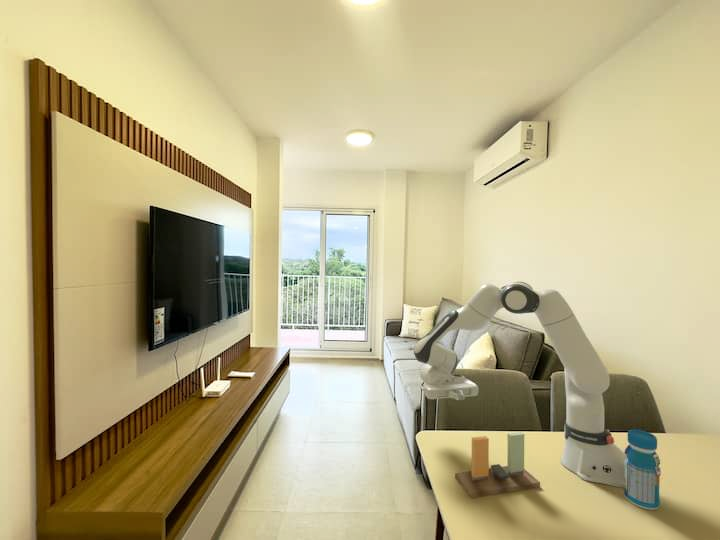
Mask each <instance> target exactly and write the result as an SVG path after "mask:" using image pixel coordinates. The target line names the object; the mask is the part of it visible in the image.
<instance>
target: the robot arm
mask: <svg viewBox="0 0 720 540" xmlns="http://www.w3.org/2000/svg"><path fill="white" fill-rule="evenodd" d="M501 309H505V310H506V311H508V313H509V312H510V313H512V314H520V315H521V314H522V315H523V314H530V313H534V314H535V316H536V317H537V319H538V320H539V322H540V324H541V326H542V328H543V329H544V332H545V333H546V336H547V338H548V339H549V342H550V343H551V345H552V347H553V349H554V350H555V353H556V355H557V356H558V358H559V360H560V362H561V364H562V365H563V366H562V367H564V368H563V369H564V371H563V372H564V386H565V399H566V400H565V401H566V404H565V405H566V406H565V407H566V408H565V409H566V415H565V417H566V420H565V422H564V430H563V431H564V433H563V434H564V439H565V440H564V446H563V452H562V453H561V458H560V463H561V464H562V465H563V466H564V467H565V468H566V469H568V470H569V471H571V472H573V473H574V474H575V475H577V476H578V477H579V478H580V479H582V480H584V481H587V482H594V483H597V484H603V485H608V486H614V487H617V488H623V489H625V465H624V458H625V457H626V456H625V453H624V452H625V450H623V449H621V448H620V447H618V446H617V444H615V439H614V437H613V436H612V433H611V432H610V429H606V428H605V404H604V399H603V393H604V392H605V391H607V390H608V388H609V386H610V384H611V381H610V379H611V378H610V374H609V371H608V370H607V368H606V366H605V364H604V362H603V361H602V359H601V358H600V356H599V354H598V352H597V351H596V350H595V348H594V346H593V344H592V342H590V340H589V338H588V336H587V334H586V332H585V331H584V329H583V327H582V326H581V324H580V322H579V320H578V318H577V317H576V315H575V313H574V311H573V310H572V308H571V307H570V305H569V303H568V302H567V301H566V299H565V298H564V296H562V294H561V293H560V292H559V291H557V290H556V289H549V288H547V289H543V290H541V291H536V290H534V289H533V287H532V286H531V285H530V284H528V283H527V282H524V281H514V282H511V283H509V284H506V285H504V286H502V287H501V288H500V287H498V286H497V285H493V284H490V283H485V284H483V285H481V286H480V287H479V288H478V289H477V290H476V291H475V292H474V293H473V295H471V296H470V298H469V299H468V300H467V302H466V303H465V304H464V305H463V306H462V307H460V308H458V309H456V310H451V311H450V312H448V313H447V314H445V316H443V317H442V319H441V320H439V321H438V322H437V324H436V325H435V326H434V327H433V328H432V329H430V331H428V332H427V334H425V335H424V336H422V337H421V338H419V340H418V341H417V342H416V343H415V345H414V347H413V354H414V357H415V359H416V360H417V362H419V363H423V365H422V366H421V367H420V370H419V375H420V378H421V381H422V382H423V383H424V384H423V385H422V386H420V388H419V389H420V390H421V391H423V392H424V393H423V394H424V396H425V397H426V398H427V399H429V400H440V399H454V400H456V401H463V400H465V399H466V397H476V396H477V397H478V395H479V385H477V384H476V383H475V382H473V381H472V380H470V379H468V378H466V376H464V375H462V374H454V373H455V371H456V369H457V367H458V355H457V353H456V352H455V350H453V349H450V348H449V347H447V346H444V345H442V344H441V343H439V342H440V341H441V340H442V339H443V338H444V337H445V336H446V335H447V334H448V333H449V332H451V331H456V330H463V331H465V330H466V331H471V332H473V331H479V330H483V329H484V328H485V327H486V326H487V325H488V324H489V323H490V322H491V320H492V319H493V318H494V316H495V315H496V314H497V312H499V310H501Z"/></svg>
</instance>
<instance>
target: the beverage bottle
mask: <svg viewBox="0 0 720 540" xmlns="http://www.w3.org/2000/svg"><path fill="white" fill-rule="evenodd" d="M627 442H628V445H627V446H626V447H625V450H624V453H625V456H626V457H625V458H624V465H625V488H623V489H624V492H623V494H624V497H625V499H626V500H627V501H629V502H630V503H631V504H633V505H634V506H636V507H639V508H641V509H645V510H649V511H654V510H655V511H656V510H658V509H659V508H660V505H661V502H660V478H661V474H662V471H661V468H660V464H661V459H660V457H659V455H658V453H657V452H656V450H657V449H658V437H656V435H654V434H653V433H650V432H648V431H645V430H640V429H629V430H628V431H627Z"/></svg>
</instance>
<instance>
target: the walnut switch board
mask: <svg viewBox="0 0 720 540" xmlns="http://www.w3.org/2000/svg"><path fill="white" fill-rule="evenodd" d="M507 466H508V465H507ZM507 466H506V465H505V466H501V467H502V468H503V469H504V470H505V472H506V473H507V474H508V470H507ZM472 477H473V476H472V470H468V471H463V472H455V473H454V478H455V480H456V481H457V482H458V483H459V485H460V486H461V487H462V488H463V490H464V491H465V492H466V494H467V495H468V496H469V497H470V498H471V499H472V498H480V497H486V496H492V495H498V494H506V493H511V492H512V493H513V492H518V491H524V490H530V489H536V488H540V487H541V482H540V481H539V480H538V479H536V478H535V477H534V476H533V474H531V473H530V472H529V471H527V470H526V469H525V468H524V474H517V475H511V476H509V478H508V479H501V480H500V479H499V478H495V477H494V475H493V470H492V469H491V467H490V468H489V469H488V479H483V480H476V481H472Z"/></svg>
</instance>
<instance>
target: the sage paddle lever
mask: <svg viewBox="0 0 720 540" xmlns="http://www.w3.org/2000/svg"><path fill="white" fill-rule="evenodd" d="M524 469H525V434H524V432H522V431H516V432H507V470H508V475H509V476H511V475H517V474H524Z"/></svg>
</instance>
